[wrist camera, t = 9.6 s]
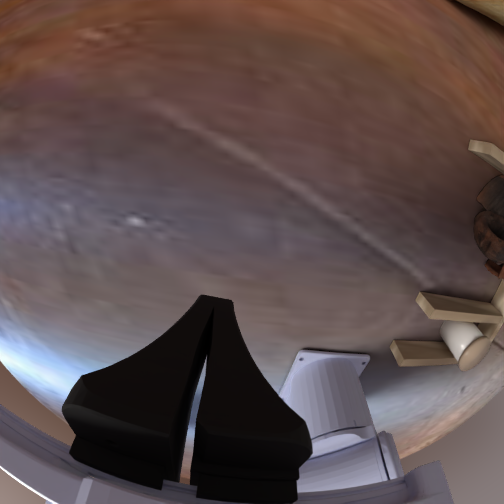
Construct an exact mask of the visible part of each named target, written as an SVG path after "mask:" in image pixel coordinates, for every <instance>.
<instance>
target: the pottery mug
mask: <svg viewBox="0 0 504 504" xmlns="http://www.w3.org/2000/svg"><path fill="white" fill-rule="evenodd" d="M477 201H478V202H479V203H481V204H482V205H483V207H484V208H485V209H486V210H487V211H483V212H480V213H479V214H478V215H477V216H476V217H475V222H474V237H475V241H476V243H477V245H478V247H479V249H480V250H481V251H482V252H483V254H484V255H485V256H486V257H487V258H489V259H490V260H488V261H487V262H486V264H485V267H486V268H487V269H488V271H490V272H491V273H492V274H494V275H495V276H497V277H498V278H499V279H500V278H501V279H504V175H500V176H497V177H495V178H494V179H492V180H491V181H490V182H489V183H487V185H486V186H485V187H484V188H483V190H482V191H481V192H480V194H479V195H478V197H477ZM493 261H496V262H497V261H499V262H500V263H503V264H500V265H497V264H496V263H494V262H493Z"/></svg>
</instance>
